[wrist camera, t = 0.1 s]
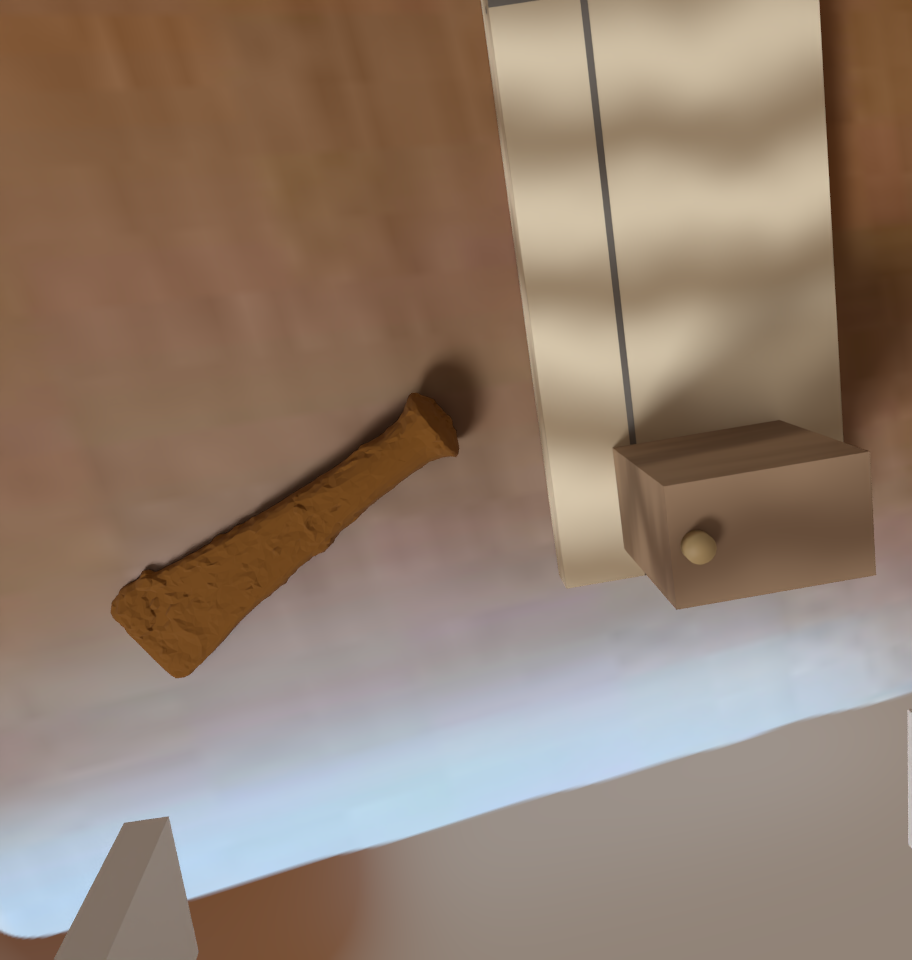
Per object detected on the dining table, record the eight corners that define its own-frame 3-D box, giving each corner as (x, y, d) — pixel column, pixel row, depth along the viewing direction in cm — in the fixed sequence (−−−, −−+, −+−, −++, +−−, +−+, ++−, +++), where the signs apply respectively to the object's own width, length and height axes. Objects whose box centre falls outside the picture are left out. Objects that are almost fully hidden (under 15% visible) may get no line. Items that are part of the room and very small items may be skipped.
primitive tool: (181, 679, 44) (162, 711, 41) (103, 602, 43) (77, 629, 40) (469, 438, 43) (475, 450, 39) (396, 352, 41) (395, 357, 38)
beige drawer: (612, 447, 40) (668, 489, 32) (779, 419, 41) (878, 454, 32) (624, 549, 42) (681, 615, 33) (786, 521, 42) (884, 580, 33)
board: (476, -32, 38) (480, -50, 36) (792, -80, 38) (813, -100, 36) (559, 575, 44) (566, 588, 42) (828, 529, 44) (849, 540, 42)
